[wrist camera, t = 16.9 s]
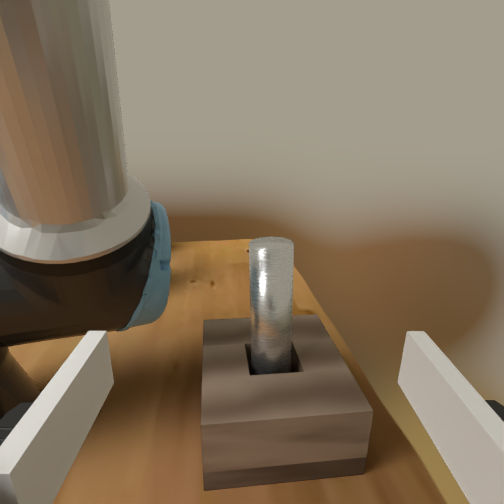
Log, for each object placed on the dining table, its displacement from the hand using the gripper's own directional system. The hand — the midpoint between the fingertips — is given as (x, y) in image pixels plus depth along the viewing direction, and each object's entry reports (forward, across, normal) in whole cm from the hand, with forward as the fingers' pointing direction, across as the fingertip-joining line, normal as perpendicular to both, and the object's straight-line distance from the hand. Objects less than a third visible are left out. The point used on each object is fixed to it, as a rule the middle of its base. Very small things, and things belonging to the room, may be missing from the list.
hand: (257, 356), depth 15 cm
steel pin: (+17, +2, -17) cm, 24 cm away
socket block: (+17, +2, -19) cm, 26 cm away
